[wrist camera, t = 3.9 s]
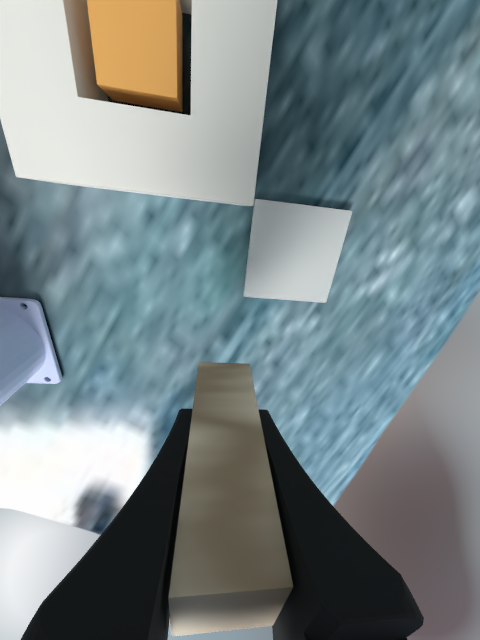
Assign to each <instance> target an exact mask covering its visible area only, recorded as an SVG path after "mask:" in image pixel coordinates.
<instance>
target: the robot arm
mask: <svg viewBox="0 0 480 640" xmlns="http://www.w3.org/2000/svg"><path fill="white" fill-rule="evenodd" d="M24 304H26V305H27V307H26V306H25V305H24ZM48 377H49V378H48ZM61 380H62V375H61V371H60V368H59V364H58V361H57V357H56V354H55V350H54V347H53V344H52V340H51V337H50V333H49V330H48V326H47V323H46V320H45V316H44V313H43V309H42V306H41V304H40V302H38V301H37V300H35V299H25V298H9V297H0V405H2V404H3V403H4V402H5V401H6V400H7V399H8V398H9V397H10V396H11V395H13V394H14V393H15V392H16V391H17V390H18V389H19V388H20V387H21V386H23V385H24V384H25V383H51V384H56V383H59V382H60V381H61ZM192 410H193V409H181V410H179V413H178V415H177V418H176V420H175V423H174V425H173V427H172V429H171V431H170V433H169V435H168V437H167V439H166V441H165V443H164V445H163V446H162V448H161V450H160V452H159V454H158V455H157V457H156V459H155V460H154V462H153V464H152V465H151V467H150V468H149V470H148V472H147V473H146V475H145V476H144V478H143V479H142V481H141V482H140V484H139V485H138V487H137V488H136V490H135V491H134V492H133V494H132V495H131V497H130V498H129V499H128V501H127V502H126V504H125V505H124V506H123V508H122V509H121V510H120V512H119V513H118V514H117V516H116V517H115V518H114V519H113V521H112V522H111V523H110V525H109V526H108V527H107V528H106V530H105V531H104V532H103V533H102V534H101V536H100V537H99V538H98V540H96V542H95V543H94V544H93V546H92V547H91V548H90V549H89V550H88V552H87V553H86V554H85V555H84V556H83V557H82V559H81V560H80V561H79V562H78V563H77V564H76V565H75V567H74V568H73V569H72V570H71V571H70V572H69V573H68V574H67V575H66V577H65V578H64V579H63V580H62V581H61V582H60V583H59V584H58V585H57V587H56V588H55V589H54V590H53V591H52V592H51V593H50V594H49V596H48V597H47V598H46V599H45V600H44V601H43V602H42V604H41V605H40V607H39V608H38V610H37V612H36V614H35V615H34V617H33V618H32V620H31V622H30V624H29V625H28V627H27V629H26V631H25V633H24V634H23V637H22V638H21V640H167V638H168V627H169V618H170V612H169V599H168V597H169V590H170V582H171V574H172V566H173V558H174V551H175V543H176V535H177V527H178V519H179V512H180V504H181V496H182V488H183V481H184V473H185V465H186V457H187V449H188V442H189V434H190V426H191V418H192ZM259 415H260V420H261V425H262V430H263V435H264V441H265V446H266V451H267V456H268V461H269V466H270V471H271V476H272V481H273V486H274V491H275V496H276V501H277V506H278V512H279V517H280V522H281V527H282V532H283V537H284V542H285V547H286V552H287V557H288V562H289V567H290V572H291V577H292V582H293V589H292V591H291V592H290V594H289V596H288V598H287V600H286V602H285V604H284V606H283V607H282V609H281V611H280V613H279V615H278V617H277V619H276V621H275V623H274V624H273V626H272V628H273V640H407V638H406V637H407V636H409V635H411V634H412V633H413V632H415V631H416V630H418V629H419V628H420V627H421V626H422V625H423V619H424V618H423V616H422V614H421V612H420V610H419V608H418V606H417V604H416V602H415V600H414V598H413V596H412V594H411V592H410V590H409V588H408V587H407V585H406V583H405V582H404V580H403V578H402V576H401V574H400V573H398V572H397V571H396V570H395V569H394V568H393V567H392V566H391V565H390V564H389V563H388V562H386V560H384V559H383V558H382V557H381V556H380V555H379V554H378V553H377V552H376V551H375V550H374V549H373V548H372V547H371V546H370V545H369V544H368V543H367V542H366V541H365V540H364V539H363V538H362V537H361V536H360V535H359V534H358V533H357V532H356V531H355V530H354V529H353V528H352V527H351V526H350V525H349V524H348V522H347V521H346V520H345V519H344V518H343V517H342V516H341V515H340V514H339V513H338V511H337V510H336V509H335V508H334V507H333V506H332V505H331V504H330V502H329V501H328V500H327V499H326V498H325V496H324V495H323V494H322V493H321V492H320V490H319V489H318V488H317V487H316V485H315V484H314V483H313V481H312V480H311V479H310V478H309V476H308V475H307V473H306V472H305V471H304V469H303V468H302V467H301V465H300V464H299V462H298V461H297V459H296V458H295V456H294V455H293V453H292V452H291V450H290V449H289V447H288V445H287V444H286V442H285V441H284V439H283V437H282V436H281V434H280V432H279V431H278V429H277V427H276V425H275V423H274V422H273V420H272V418H271V416H270V414H269V412H268V411H267V410H259Z"/></svg>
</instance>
